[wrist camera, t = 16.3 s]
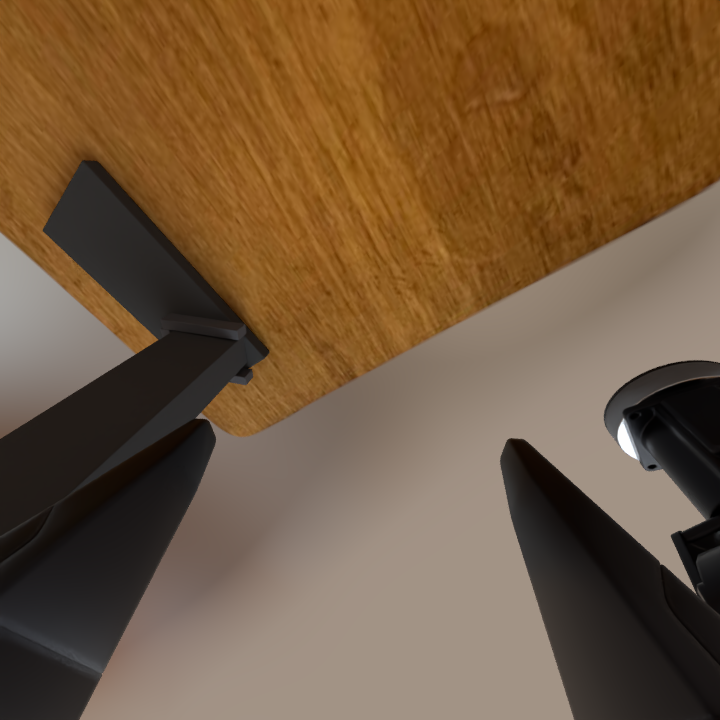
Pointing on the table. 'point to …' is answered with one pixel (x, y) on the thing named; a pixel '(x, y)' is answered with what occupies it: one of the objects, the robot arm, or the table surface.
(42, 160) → the table surface
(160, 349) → the upright pad
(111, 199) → the base pad
